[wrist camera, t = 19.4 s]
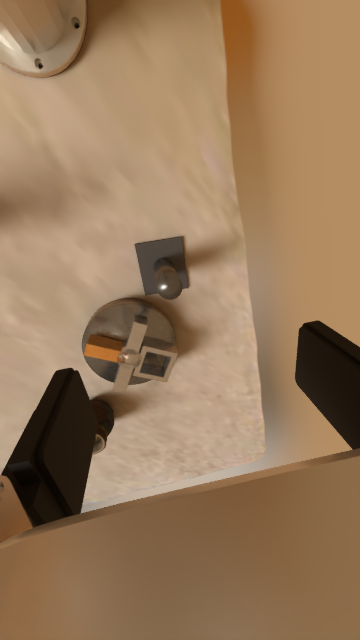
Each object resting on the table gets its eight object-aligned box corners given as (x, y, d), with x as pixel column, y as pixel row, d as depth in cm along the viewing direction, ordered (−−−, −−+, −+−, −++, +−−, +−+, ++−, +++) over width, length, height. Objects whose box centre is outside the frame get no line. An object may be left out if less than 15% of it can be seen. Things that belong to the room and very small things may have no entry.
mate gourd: (116, 422, 51) (110, 469, 42) (77, 423, 50) (62, 472, 41) (116, 394, 48) (109, 438, 39) (74, 395, 47) (57, 441, 38)
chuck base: (73, 307, 40) (68, 314, 37) (166, 290, 41) (168, 297, 38) (99, 381, 46) (97, 392, 43) (179, 365, 47) (181, 375, 44)
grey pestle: (154, 256, 38) (158, 273, 29) (174, 258, 38) (184, 276, 29) (152, 275, 39) (156, 298, 30) (171, 278, 39) (180, 300, 30)
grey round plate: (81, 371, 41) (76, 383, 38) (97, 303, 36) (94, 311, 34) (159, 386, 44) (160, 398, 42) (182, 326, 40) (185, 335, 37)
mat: (134, 244, 37) (134, 244, 36) (181, 236, 37) (181, 236, 37) (145, 294, 40) (145, 295, 40) (187, 287, 41) (188, 287, 40)
